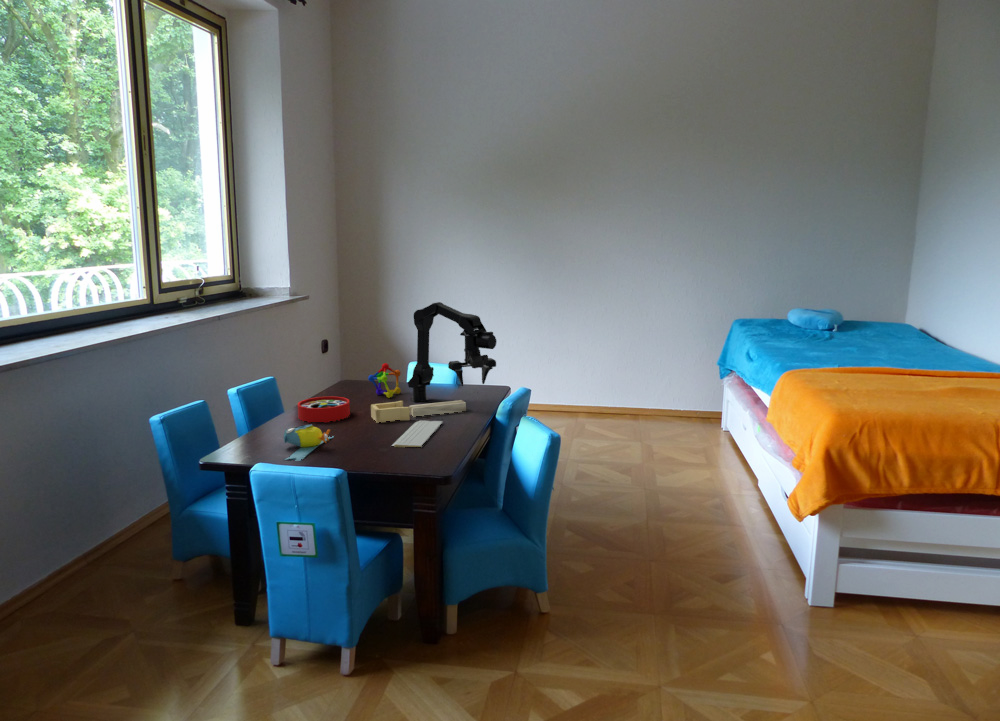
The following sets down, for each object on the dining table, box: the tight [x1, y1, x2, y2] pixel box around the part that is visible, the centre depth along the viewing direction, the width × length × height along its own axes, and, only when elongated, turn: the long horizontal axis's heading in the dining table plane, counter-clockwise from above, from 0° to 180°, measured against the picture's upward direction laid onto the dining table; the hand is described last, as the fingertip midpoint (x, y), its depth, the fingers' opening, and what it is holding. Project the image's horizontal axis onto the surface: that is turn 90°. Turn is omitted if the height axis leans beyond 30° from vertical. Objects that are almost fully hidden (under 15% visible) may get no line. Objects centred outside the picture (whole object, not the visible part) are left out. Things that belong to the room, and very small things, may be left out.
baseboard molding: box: [391, 416, 444, 448], centre depth 256 cm, size 31×3×12 cm
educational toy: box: [367, 362, 402, 399], centre depth 315 cm, size 16×13×15 cm
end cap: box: [370, 400, 411, 424], centre depth 278 cm, size 13×13×5 cm
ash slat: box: [409, 399, 467, 418], centre depth 286 cm, size 5×22×4 cm, turn 112°
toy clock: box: [297, 396, 351, 423], centre depth 283 cm, size 20×6×20 cm
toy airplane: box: [283, 423, 335, 462], centre depth 242 cm, size 28×9×15 cm
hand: (472, 384), depth 289 cm, fingers open, 9 cm apart
